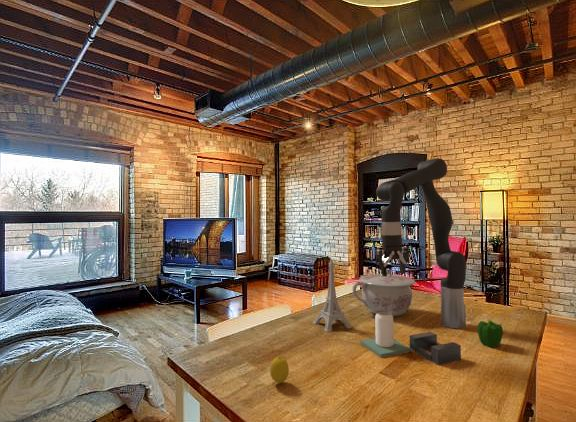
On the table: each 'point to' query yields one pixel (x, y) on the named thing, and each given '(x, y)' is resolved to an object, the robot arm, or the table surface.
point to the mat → (384, 352)
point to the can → (384, 328)
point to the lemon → (279, 369)
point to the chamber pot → (385, 293)
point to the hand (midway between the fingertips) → (393, 274)
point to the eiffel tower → (331, 305)
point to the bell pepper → (490, 333)
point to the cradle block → (435, 348)
